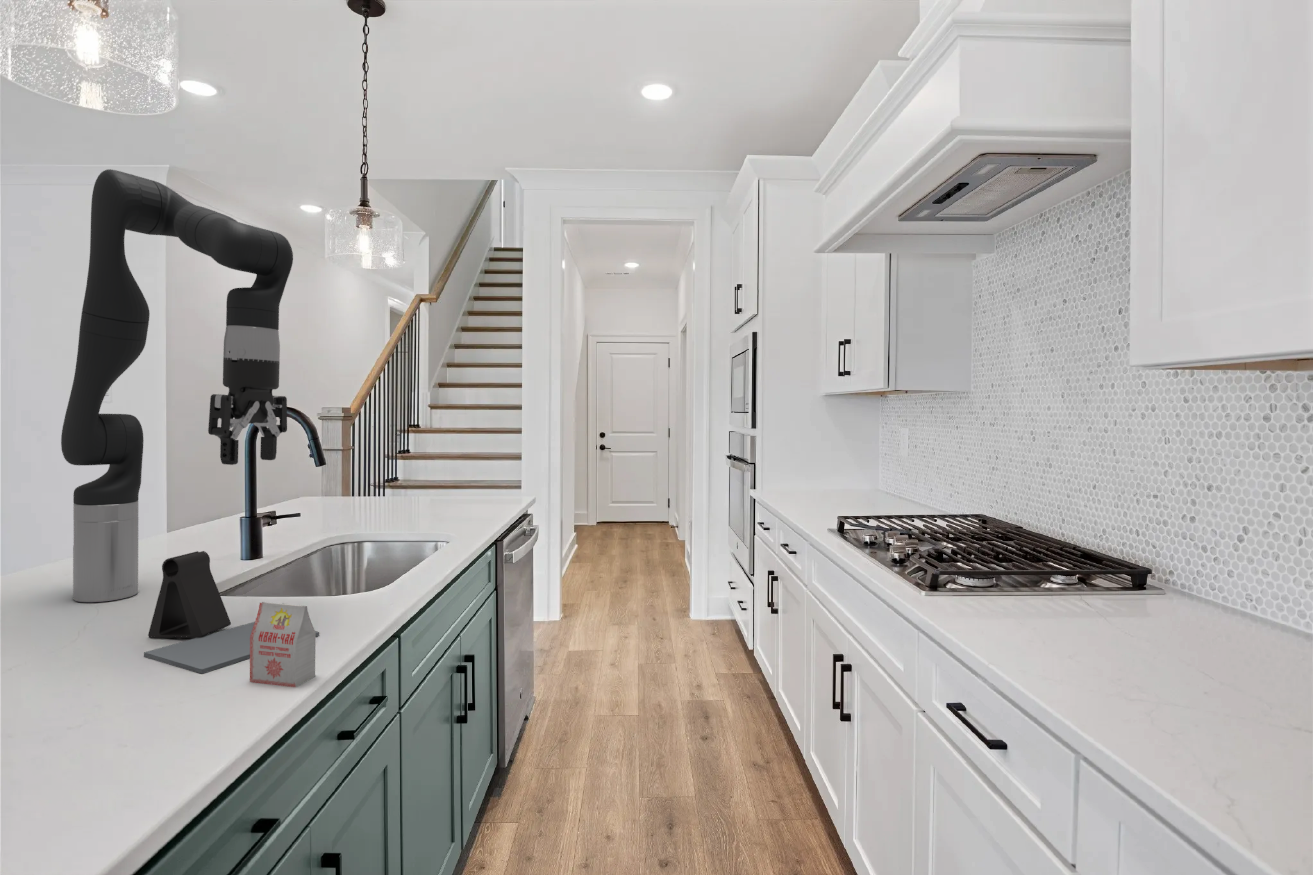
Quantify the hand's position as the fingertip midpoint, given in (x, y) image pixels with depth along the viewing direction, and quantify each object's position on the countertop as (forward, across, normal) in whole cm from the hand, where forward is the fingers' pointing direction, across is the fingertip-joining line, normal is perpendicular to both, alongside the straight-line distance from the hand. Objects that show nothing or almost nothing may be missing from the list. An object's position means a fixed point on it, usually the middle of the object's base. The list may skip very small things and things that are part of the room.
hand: (249, 462), depth 107 cm
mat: (+27, +6, +3) cm, 28 cm away
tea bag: (+27, +16, +18) cm, 36 cm away
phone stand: (+27, +2, -7) cm, 28 cm away
